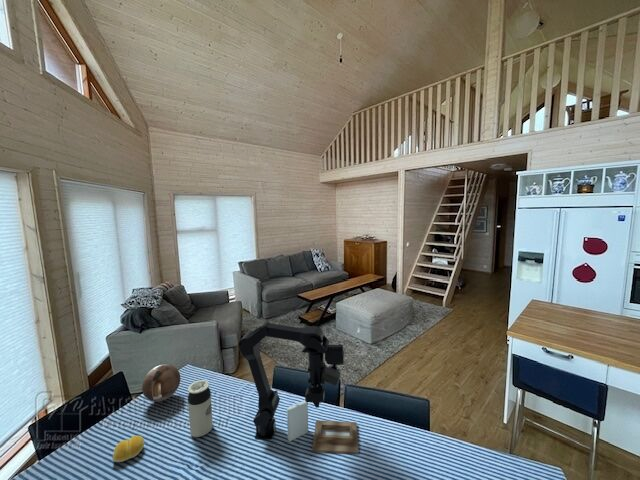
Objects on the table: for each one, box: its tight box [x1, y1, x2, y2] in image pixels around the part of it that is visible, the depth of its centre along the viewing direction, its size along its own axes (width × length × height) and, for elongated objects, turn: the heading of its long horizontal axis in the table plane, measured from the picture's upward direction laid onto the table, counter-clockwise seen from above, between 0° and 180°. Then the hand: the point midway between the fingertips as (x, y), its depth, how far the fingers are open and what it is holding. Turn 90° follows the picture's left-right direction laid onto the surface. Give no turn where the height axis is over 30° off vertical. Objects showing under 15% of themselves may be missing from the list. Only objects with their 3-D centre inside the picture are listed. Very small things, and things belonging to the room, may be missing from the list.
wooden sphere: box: [141, 363, 181, 402], centre depth 120 cm, size 15×15×15 cm
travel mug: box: [187, 379, 214, 438], centre depth 101 cm, size 8×8×18 cm
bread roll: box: [112, 435, 145, 463], centre depth 92 cm, size 8×9×4 cm
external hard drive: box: [286, 399, 309, 442], centre depth 98 cm, size 2×8×12 cm, turn 121°
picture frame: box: [311, 419, 359, 455], centre depth 97 cm, size 16×13×3 cm
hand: (317, 403), depth 96 cm, fingers open, 4 cm apart
